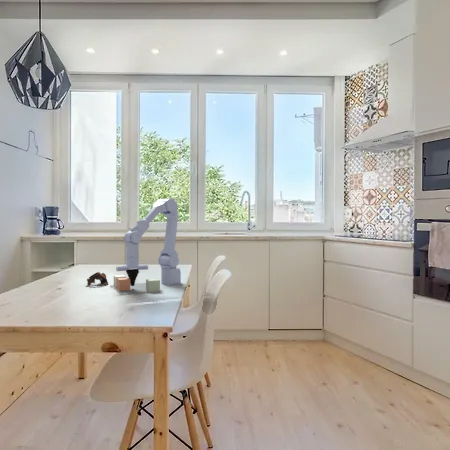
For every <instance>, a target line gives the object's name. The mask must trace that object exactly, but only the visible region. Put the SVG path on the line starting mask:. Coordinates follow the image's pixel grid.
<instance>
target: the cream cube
mask: <svg viewBox="0 0 450 450" xmlns="http://www.w3.org/2000/svg"><path fill="white" fill-rule="evenodd" d="M117 278H127V275H126V274H121V275H120V274H119V275H118V274H117V275H113V285H114V286H115V287H116V288H117Z"/></svg>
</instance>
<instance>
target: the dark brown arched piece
mask: <svg viewBox="0 0 450 450" xmlns="http://www.w3.org/2000/svg"><path fill="white" fill-rule="evenodd" d="M96 280H97V281H99V283H100V284H104V285H105V286H108V285H109V282H108V279H107V275H106V274H105V273H104V272H102V273H101V272H100V271H97V272H95V273H93V274H91V275H90V276H89V277H88V278H87V279H86V282H87V286H89V285H91V284H96Z"/></svg>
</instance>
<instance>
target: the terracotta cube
mask: <svg viewBox="0 0 450 450" xmlns="http://www.w3.org/2000/svg"><path fill="white" fill-rule="evenodd" d="M117 289H118V290H119V291H123V290H130V279H129V277H126V278H117Z"/></svg>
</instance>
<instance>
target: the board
mask: <svg viewBox="0 0 450 450" xmlns="http://www.w3.org/2000/svg"><path fill="white" fill-rule="evenodd" d="M110 287H111V288H112V289H113V290H114V291H116V292H117V293H118V294H119V295H121V296H130V295H141V294H150V293H151V294H152V293H153V294H155V292H148V291H147V290H146V282H140V283H138V282H137V283H135V284H134V286H131V284H130V290H123V291H119V290H118V289H117V288H116V287H115V286H114V284H113V285H110ZM163 292H165V291H163V290H162V289H161V288H160V291H157V292H156V293H163Z"/></svg>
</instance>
